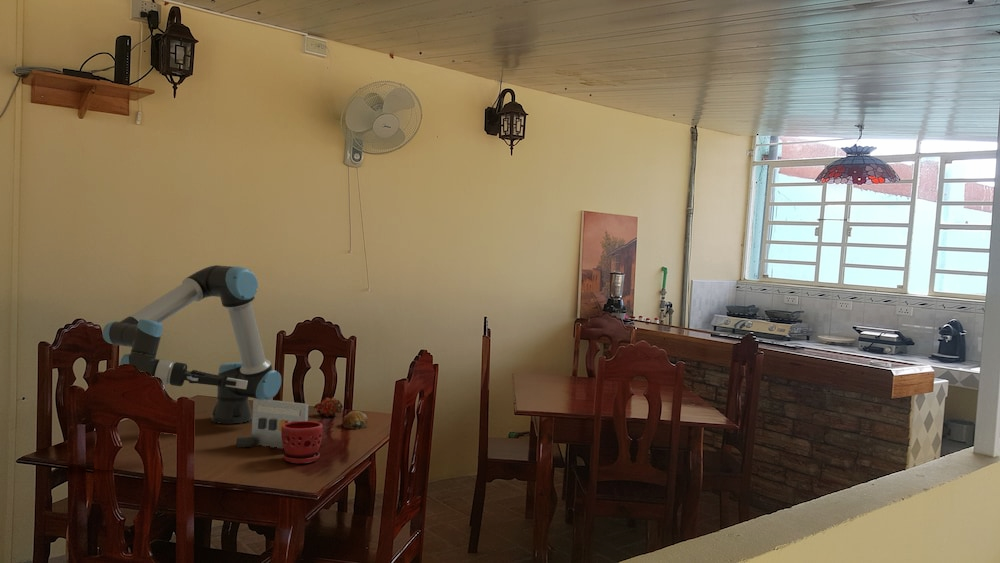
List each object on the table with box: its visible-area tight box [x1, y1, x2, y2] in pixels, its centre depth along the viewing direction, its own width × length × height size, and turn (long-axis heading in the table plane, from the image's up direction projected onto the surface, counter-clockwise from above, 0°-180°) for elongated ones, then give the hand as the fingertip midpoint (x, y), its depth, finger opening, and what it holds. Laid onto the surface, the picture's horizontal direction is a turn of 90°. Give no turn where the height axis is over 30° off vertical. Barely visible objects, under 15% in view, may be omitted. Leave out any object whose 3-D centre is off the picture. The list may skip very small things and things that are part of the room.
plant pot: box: [281, 420, 324, 464], centre depth 237 cm, size 13×13×12 cm
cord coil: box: [235, 435, 256, 449], centre depth 250 cm, size 6×6×2 cm
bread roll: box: [342, 410, 369, 430], centre depth 288 cm, size 10×10×8 cm
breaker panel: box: [250, 398, 309, 449], centre depth 250 cm, size 20×3×16 cm, turn 78°
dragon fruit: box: [313, 396, 344, 417], centre depth 303 cm, size 8×8×12 cm
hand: (246, 385), depth 239 cm, fingers closed
